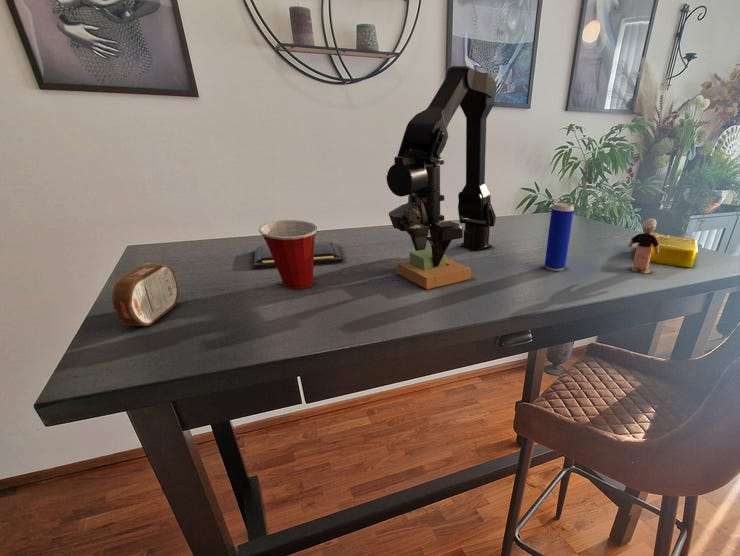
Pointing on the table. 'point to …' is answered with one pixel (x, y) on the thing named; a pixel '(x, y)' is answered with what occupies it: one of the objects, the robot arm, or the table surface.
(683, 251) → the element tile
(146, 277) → the tin
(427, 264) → the green pad
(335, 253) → the wallet
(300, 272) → the plastic cup
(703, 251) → the table surface
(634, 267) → the grandmother figurine
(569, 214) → the beverage can
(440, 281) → the wooden block
